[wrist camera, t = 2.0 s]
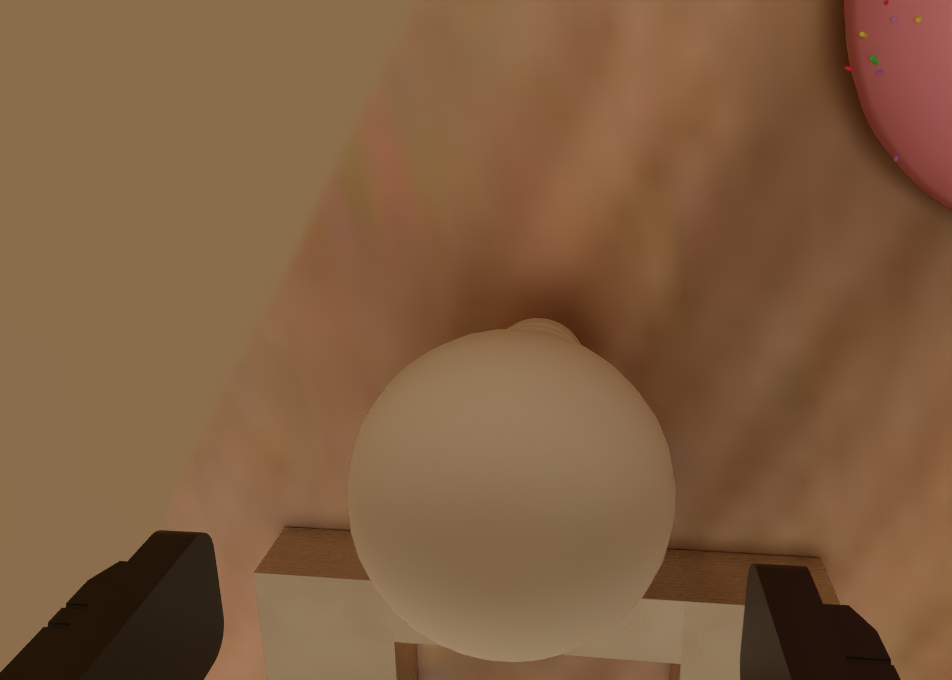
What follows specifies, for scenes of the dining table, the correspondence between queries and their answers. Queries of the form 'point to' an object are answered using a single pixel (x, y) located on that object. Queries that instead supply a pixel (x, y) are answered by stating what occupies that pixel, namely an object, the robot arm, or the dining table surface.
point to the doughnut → (906, 83)
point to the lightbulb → (511, 494)
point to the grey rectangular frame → (394, 644)
